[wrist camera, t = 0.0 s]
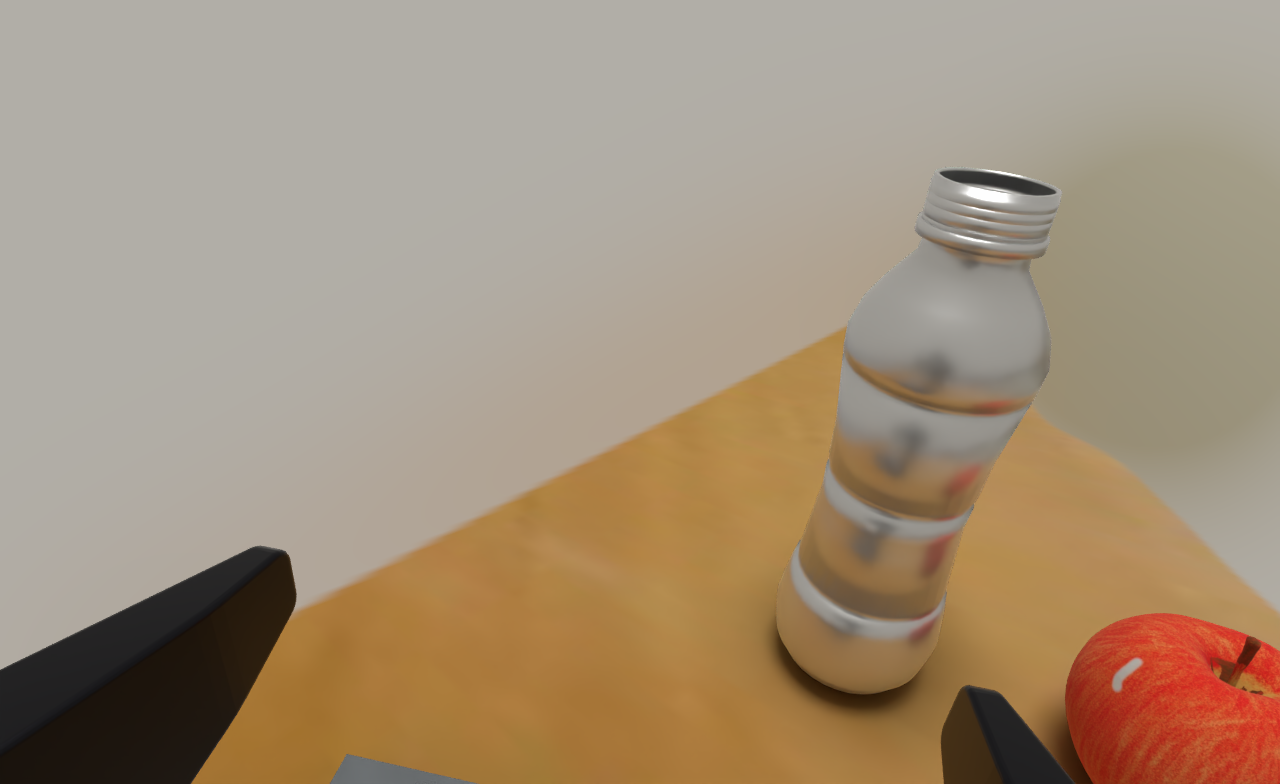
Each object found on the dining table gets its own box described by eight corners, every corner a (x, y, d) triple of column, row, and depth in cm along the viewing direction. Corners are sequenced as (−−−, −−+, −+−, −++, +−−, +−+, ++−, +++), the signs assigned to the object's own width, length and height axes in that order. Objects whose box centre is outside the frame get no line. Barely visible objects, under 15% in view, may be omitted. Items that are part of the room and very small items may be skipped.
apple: (1084, 892, 23) (1200, 733, 19) (1008, 686, 30) (1082, 539, 27) (1347, 942, 23) (1520, 789, 19) (1207, 720, 30) (1313, 575, 26)
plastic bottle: (734, 633, 31) (837, 162, 22) (836, 576, 35) (963, 152, 26) (851, 747, 27) (1045, 222, 17) (953, 669, 31) (1159, 200, 21)
